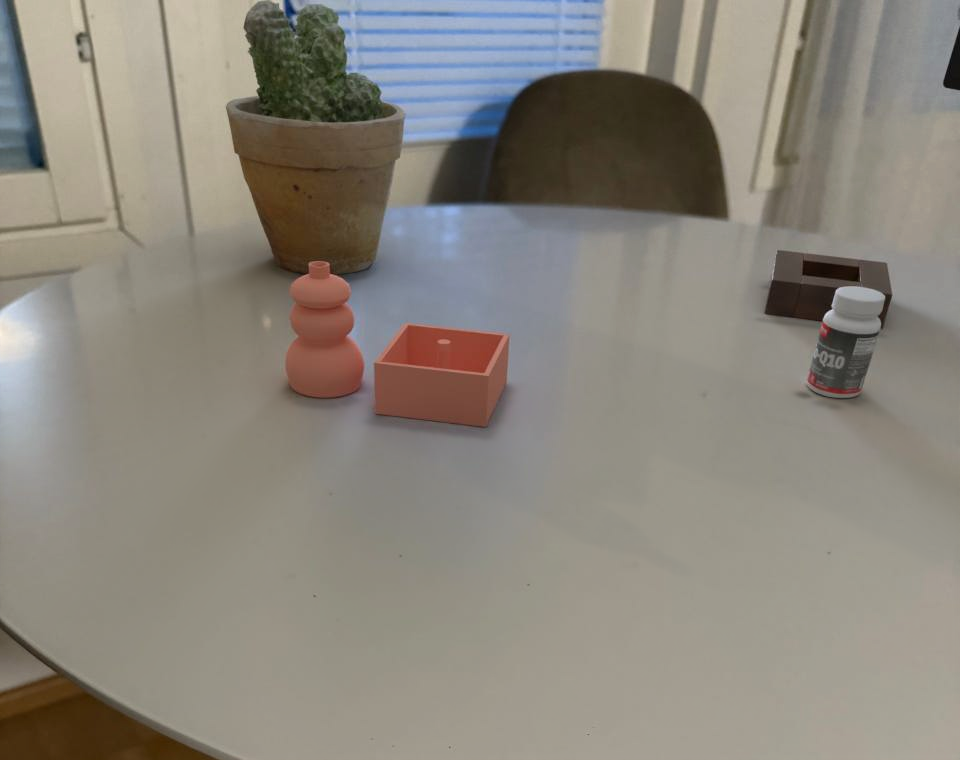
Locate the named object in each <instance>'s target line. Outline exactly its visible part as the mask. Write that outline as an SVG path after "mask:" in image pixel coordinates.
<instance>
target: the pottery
mask: <svg viewBox="0 0 960 760" xmlns="http://www.w3.org/2000/svg"><path fill="white" fill-rule="evenodd" d="M308 265H309V274H303V275H302V276H300V277H297V278H296V279H295V280H294V281H293V282H292V283H291V284H290V288H289V295H290V297H291V299H292V300H293V301H294V302H295V304H294V305H293V307H292V308H291V310H290V313H289V323H290V327H291V329H292V330H293V332H294V333H295V335H297V337H296V338H295V339H294V340H293V341H292V342H291V344H289V347H288V348H287V351H286V354H285V359H284V366H285V367H284V368H285V372H286V375H287V379H288V381H289V384H290V387H291V388H292V390H293V391H294V392H296V393H298V394H300V395H303V396H307V397H312V398H320V399H321V398H322V399H323V398H324V399H326V398H327V399H329V398H338V397H343V396H347V395H350V394H352V393H353V394H354V393H355V392H357V391H358V390H359V389H360V387H361V385H362V381H363V376H364V372H365V360H364V356H363V352H362V350H361V348H360V347H359V345H358V344H357V343H356V341H355V340H354V339H353V338H352V337H351V336H349V335H350V333H352V331H353V328H354V326H355V319H356V317H355V314H354V312H353V309H352V308H351V306H350V305H349V304H348V303H347V302H348V301H349V300H350V297H351V295H352V290H351V286H350V284H349V283H348V282H347V281H346V280H345V279H344V278H342V277H341V276H338V275H332V274H330V268H329V263H328V262H324V261H314V262H310V263H309V264H308ZM509 349H510V333H502V332H495V331H494V332H492V331H483V330H474V329H465V328H456V327H448V326H447V327H446V326H437V325H430V324H429V325H427V324H419V323H409V322H404V323H403V325H402V326H401V327H400V329H399V330H398V331H397V332H396V333H395V335H394V336H393V338H392V339H391V340H390V342H389V343H388V344H387V346H386V347H385V348H384V349H383V350H382V352H381V353H380V355H379V356H378V357H377V358H376V360H374V363H373V373H374V374H373V376H374V377H373V378H374V379H373V380H374V409H375V410H374V412H375V413H374V414H375V415H383V416H392V417H399V418H408V419H418V420H424V421H431V422H439V423H440V422H442V423H448V424H458V425H465V426H473V427H483V428H487V427H488V424H489V422H490V419H491V417H492V416H493V414H494V411H495V409H496V407H497V404H498V402H499V400H500V398H501V395H502V393H503V391H504V389H505V386H506V385H507V381H508V365H509Z"/></svg>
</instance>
